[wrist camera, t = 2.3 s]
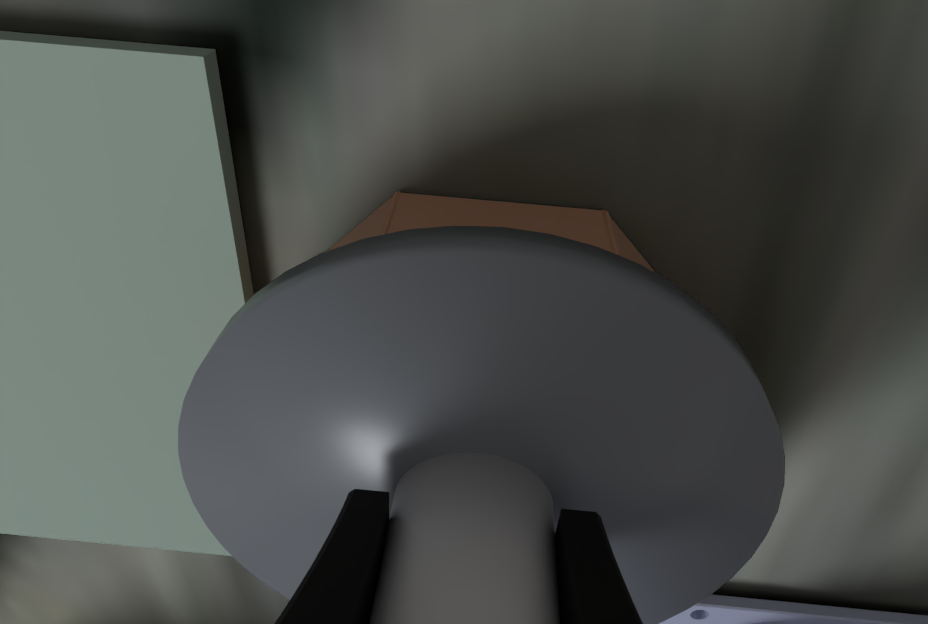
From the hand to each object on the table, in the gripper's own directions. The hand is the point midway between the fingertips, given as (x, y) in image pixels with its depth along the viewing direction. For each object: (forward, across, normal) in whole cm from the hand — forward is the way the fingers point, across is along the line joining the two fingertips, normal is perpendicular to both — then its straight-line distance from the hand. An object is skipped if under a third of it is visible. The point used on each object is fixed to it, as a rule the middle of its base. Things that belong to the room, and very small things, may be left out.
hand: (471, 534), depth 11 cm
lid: (+1, 0, 0) cm, 1 cm away
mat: (+4, +11, 0) cm, 12 cm away
